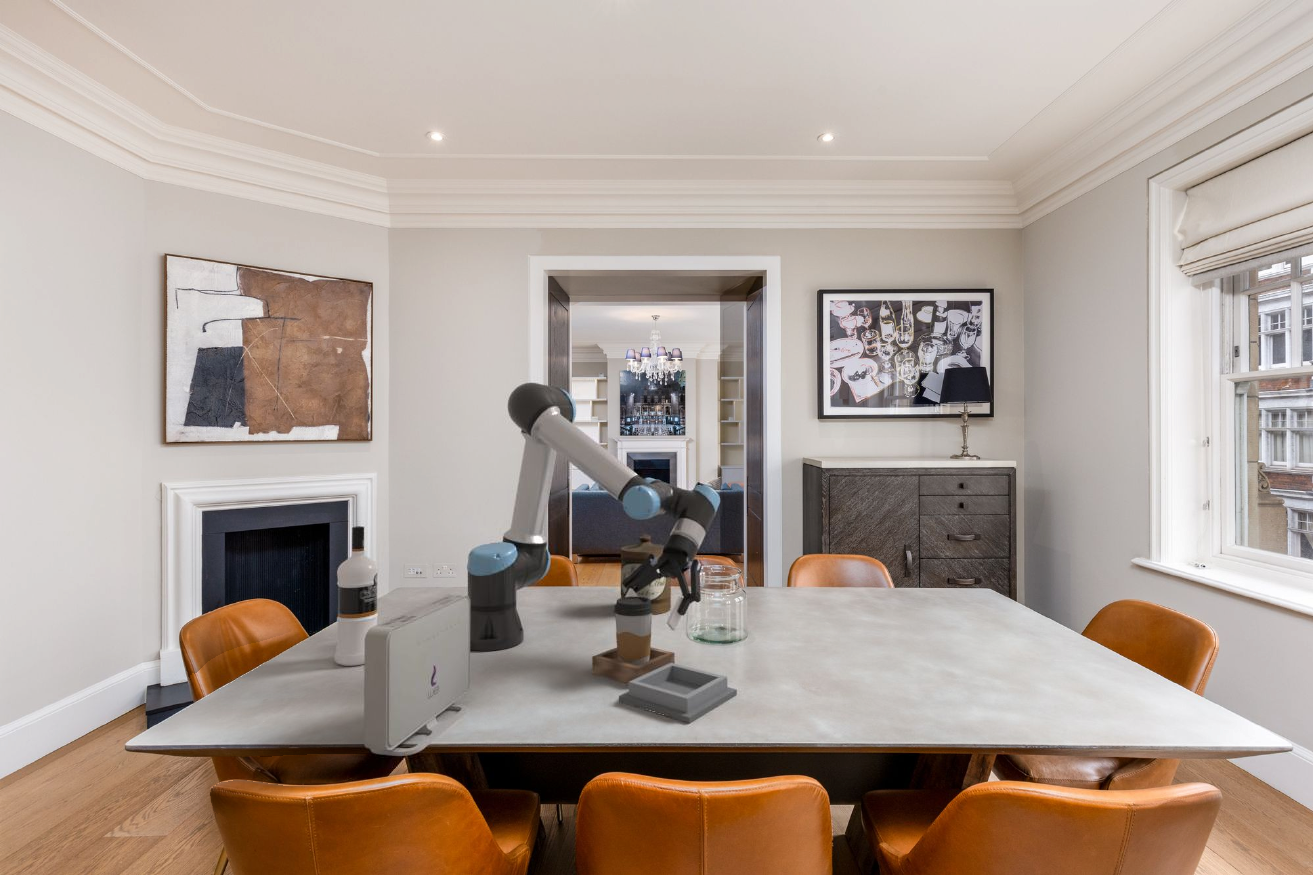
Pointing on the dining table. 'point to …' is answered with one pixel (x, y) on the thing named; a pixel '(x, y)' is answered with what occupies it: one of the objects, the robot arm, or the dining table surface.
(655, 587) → the wooden container
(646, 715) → the dining table surface
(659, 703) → the dock pad
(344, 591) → the vodka
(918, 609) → the dining table surface
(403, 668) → the network device
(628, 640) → the coffee cup
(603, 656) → the walnut holder
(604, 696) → the dining table surface
